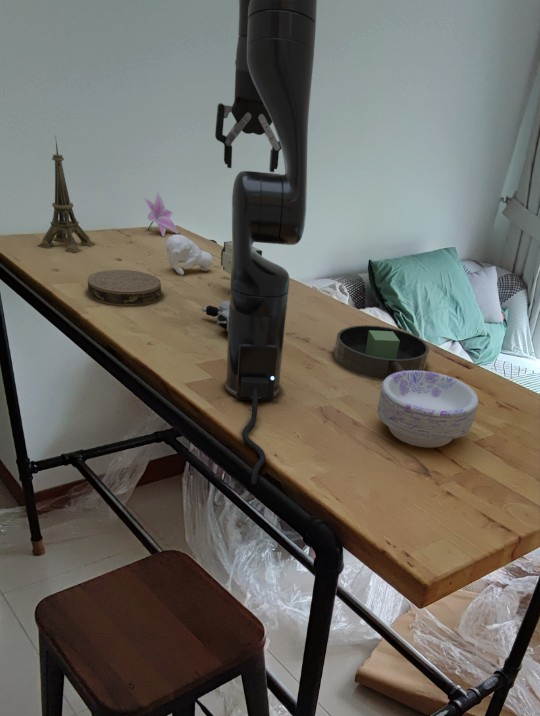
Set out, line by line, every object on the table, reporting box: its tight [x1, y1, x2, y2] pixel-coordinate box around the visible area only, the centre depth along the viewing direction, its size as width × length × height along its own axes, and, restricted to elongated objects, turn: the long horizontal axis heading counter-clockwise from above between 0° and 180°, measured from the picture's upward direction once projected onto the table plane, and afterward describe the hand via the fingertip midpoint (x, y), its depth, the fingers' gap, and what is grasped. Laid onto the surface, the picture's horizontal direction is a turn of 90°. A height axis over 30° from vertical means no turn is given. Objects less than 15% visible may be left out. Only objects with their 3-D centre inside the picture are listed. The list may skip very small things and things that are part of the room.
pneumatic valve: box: [220, 240, 263, 275], centre depth 149 cm, size 6×12×12 cm, turn 36°
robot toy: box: [200, 300, 230, 332], centre depth 134 cm, size 12×4×15 cm
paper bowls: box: [376, 370, 479, 449], centre depth 103 cm, size 15×15×8 cm
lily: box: [143, 191, 179, 237], centre depth 190 cm, size 12×12×10 cm
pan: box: [333, 324, 430, 380], centre depth 127 cm, size 18×18×4 cm
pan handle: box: [390, 361, 405, 373], centre depth 117 cm, size 9×2×2 cm, turn 9°
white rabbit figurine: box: [165, 234, 213, 276], centre depth 162 cm, size 6×8×12 cm
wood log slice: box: [87, 269, 162, 307], centre depth 144 cm, size 16×16×3 cm
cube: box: [365, 330, 400, 359], centre depth 127 cm, size 5×5×5 cm
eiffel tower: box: [37, 135, 96, 254], centre depth 164 cm, size 11×11×25 cm
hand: (250, 169), depth 128 cm, fingers open, 8 cm apart
